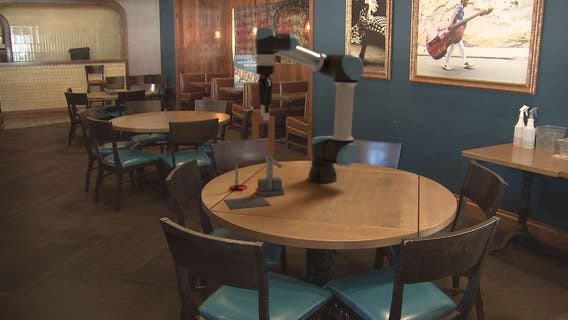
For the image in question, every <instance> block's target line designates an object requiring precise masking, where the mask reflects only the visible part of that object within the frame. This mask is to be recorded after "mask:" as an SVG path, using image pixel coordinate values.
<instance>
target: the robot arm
mask: <svg viewBox="0 0 568 320" xmlns="http://www.w3.org/2000/svg"><path fill="white" fill-rule="evenodd" d="M255 35H256V37H255V41H254V46H255V48H256V56H255V58H254V59H255V60H256V64H257V65H256V66H255V67H256V68H255V70H256V73H255V74H257V75H260V77H259V79H258V80H257V83H258V99H259V100H258V102H259V103H260V116H263V120H269V116H270V105H272V91H273V81H272V79H271V75H275V66H274V64H275V56H278V57H281V58H284V59H286V60H289V61H292V62H295V63H297V64H300V65H303V66H306V67H307V68H310V69H311V71H313V72H314V73H318V74H319V75H323V76H325V77H327V78H330V79H333V83H334V85H335V87H336V88H335V90H336V91H335V105H334V106H335V107H334V126H333V134H332V135H321V136H315V137H313V138H312V140H311V166H310V170H309V171H308V176H307V179H308V181H310V182H313V183H320V184H323V183H324V184H327V183H333V182H336V181H337V180H338V175H337V171H336V168H335V164H336V165H338V166H340V167H342V166H344V167H348V166H350V165H353V163H354V162H355V161H356V160H357V158H358V155H359V149H358V146H357V145H356V144H355V143H354V142H355V138H354V137H353V135H352V129H353V128H352V127H353V112H354V111H353V110H354V109H353V108H354V96H355V94H354V93H355V86H356V85H358V82H359V81H358V80H359V79H361V77H362V76H363V74H364V64H363V61H362V60H361V58H360V57H359V56H358V55H355V54H327V53H323V52H315V51H312V50H309V49H307V48H304V47H301V46H299V43H298V42H299V40H298V36H297V35H296V34H294V33H290V32H287V33H286V32H285V33H283V32H280V33H279V32H276V31H275V29H274V28H273V27H270V26H269V27H261V26H260V27H257V29H256V34H255Z"/></svg>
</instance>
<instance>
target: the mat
mask: <svg viewBox="0 0 568 320" xmlns="http://www.w3.org/2000/svg"><path fill="white" fill-rule="evenodd" d="M223 201H224V202H225V205H227V206H228V208H229V209H230V210H231V211H232V210H239V209H249V208H250V209H251V208H260V207H266V206H267V207H268V206H269V207H270V206H272V205H271V203H269V202H268V200H266V198H264V197H262V196H259V195H258V196H251V197H239V198H238V197H237V198H229V199H228V198H227V199H223Z"/></svg>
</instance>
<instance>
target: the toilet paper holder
mask: <svg viewBox="0 0 568 320" xmlns="http://www.w3.org/2000/svg"><path fill="white" fill-rule="evenodd" d="M265 158H266V161H265V162H266V171H265V172H266V174H265V175H266V177H265V178H257V187H256V188H255V191H254V192H255V193H256V195H258V196H262V197H263V198H264V197H271V196H272V197H275V196H283V195H285V189H283V185H282V184H283V180H282V178H280V177H279V176H276V177H274V173H273V172H274V169H273V167H274V166H276V167H277V168H279V169H280V168H282V164H281V163H279V162H278V161H277V160H275V159H274V157H273V156H272V155H269V156H266V157H265ZM273 165H274V166H273Z"/></svg>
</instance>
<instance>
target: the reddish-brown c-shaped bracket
mask: <svg viewBox="0 0 568 320" xmlns="http://www.w3.org/2000/svg"><path fill="white" fill-rule="evenodd" d="M251 120H252V121H251V138H252V141H256V140H257V141H259V140H260V125H261V124H265V125H266V124H267V155H269V156H272V155H273V156H274V155H275V150H276V149H275V148H276V147H275V145H276V144H275V142H276V141H275V140H276V139H275V138H276V134H275V133H276V128H275V127H276V122H275V121H276V116H274V115H269V120H263V116H261V115H258V116H257V115H252V117H251Z"/></svg>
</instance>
